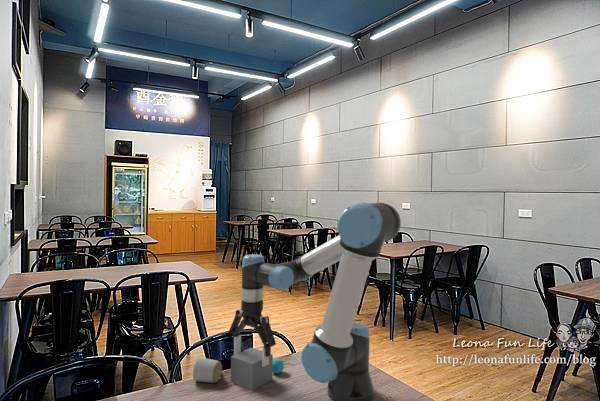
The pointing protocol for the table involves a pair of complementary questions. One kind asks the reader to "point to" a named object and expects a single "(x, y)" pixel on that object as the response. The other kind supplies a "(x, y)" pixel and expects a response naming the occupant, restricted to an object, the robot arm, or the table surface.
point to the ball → (277, 365)
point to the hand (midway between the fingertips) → (251, 359)
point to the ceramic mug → (207, 370)
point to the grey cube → (250, 369)
